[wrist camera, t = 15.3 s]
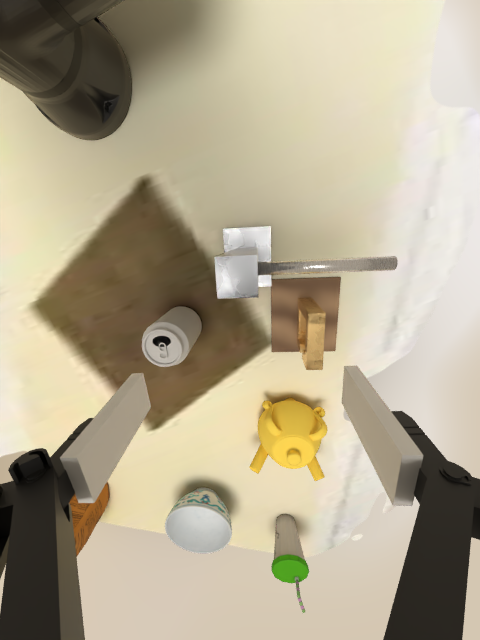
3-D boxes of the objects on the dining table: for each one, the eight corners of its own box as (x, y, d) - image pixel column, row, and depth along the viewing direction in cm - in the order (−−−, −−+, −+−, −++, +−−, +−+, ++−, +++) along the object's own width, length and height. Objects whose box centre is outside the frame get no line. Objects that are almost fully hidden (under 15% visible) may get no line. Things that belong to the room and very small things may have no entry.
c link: (298, 298, 45) (308, 313, 36) (311, 297, 45) (325, 313, 36) (297, 344, 48) (306, 369, 39) (309, 343, 48) (322, 369, 38)
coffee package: (71, 503, 67) (-14, 622, 46) (75, 470, 63) (-15, 584, 43) (107, 514, 68) (39, 637, 47) (113, 482, 64) (42, 600, 43)
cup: (269, 508, 63) (272, 588, 48) (301, 509, 62) (313, 590, 48) (270, 530, 65) (273, 612, 51) (301, 531, 64) (312, 614, 50)
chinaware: (237, 518, 65) (234, 554, 57) (180, 518, 66) (171, 553, 59) (231, 474, 60) (227, 506, 53) (171, 474, 61) (159, 506, 54)
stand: (223, 228, 43) (184, 217, 20) (342, 222, 42) (443, 202, 19) (227, 286, 46) (196, 332, 23) (338, 282, 45) (421, 328, 22)
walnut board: (271, 279, 45) (271, 280, 45) (339, 277, 44) (340, 277, 44) (271, 350, 49) (271, 351, 49) (334, 349, 48) (335, 351, 48)
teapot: (250, 440, 57) (248, 486, 46) (257, 388, 52) (257, 426, 42) (314, 448, 56) (327, 497, 46) (326, 396, 52) (344, 437, 41)
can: (199, 303, 48) (180, 323, 36) (205, 339, 50) (190, 369, 38) (161, 307, 48) (131, 328, 37) (169, 343, 51) (143, 373, 39)
